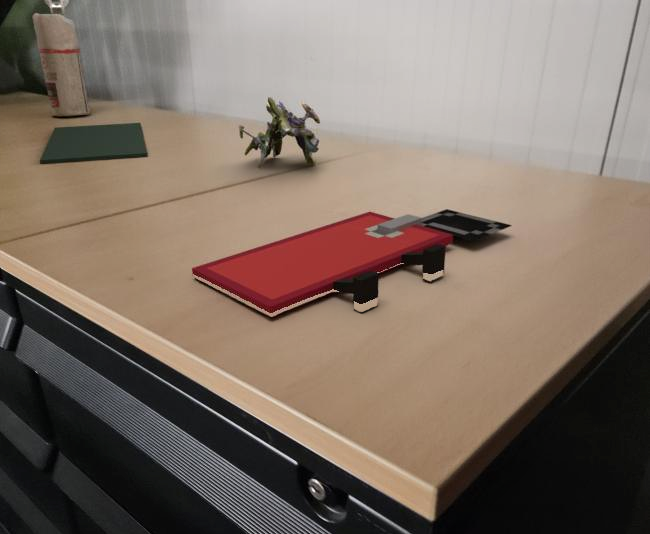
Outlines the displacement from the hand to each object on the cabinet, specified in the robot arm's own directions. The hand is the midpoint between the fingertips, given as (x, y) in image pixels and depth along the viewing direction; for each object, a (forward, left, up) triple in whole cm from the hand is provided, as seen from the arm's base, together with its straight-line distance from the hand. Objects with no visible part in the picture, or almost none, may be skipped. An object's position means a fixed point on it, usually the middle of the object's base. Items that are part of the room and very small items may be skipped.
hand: (57, 11), depth 139 cm
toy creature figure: (+33, -76, -20) cm, 85 cm away
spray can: (0, -16, -20) cm, 26 cm away
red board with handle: (+32, -115, -20) cm, 122 cm away
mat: (+6, -49, -20) cm, 53 cm away
